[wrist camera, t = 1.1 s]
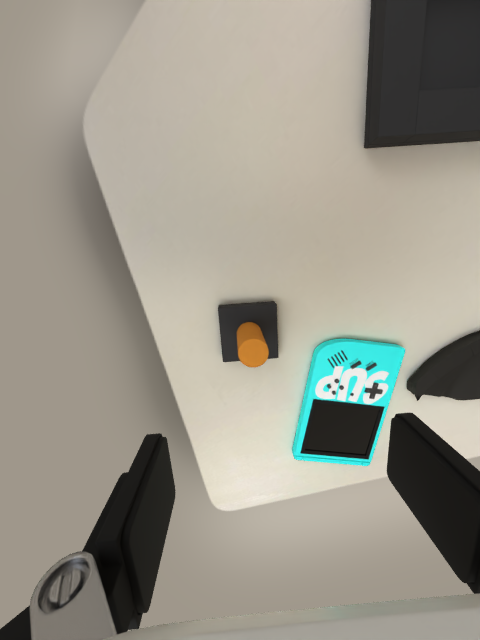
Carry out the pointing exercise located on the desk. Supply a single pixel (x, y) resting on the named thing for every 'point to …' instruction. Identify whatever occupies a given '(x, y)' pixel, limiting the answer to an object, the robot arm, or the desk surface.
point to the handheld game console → (346, 400)
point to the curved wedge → (451, 371)
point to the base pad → (423, 73)
